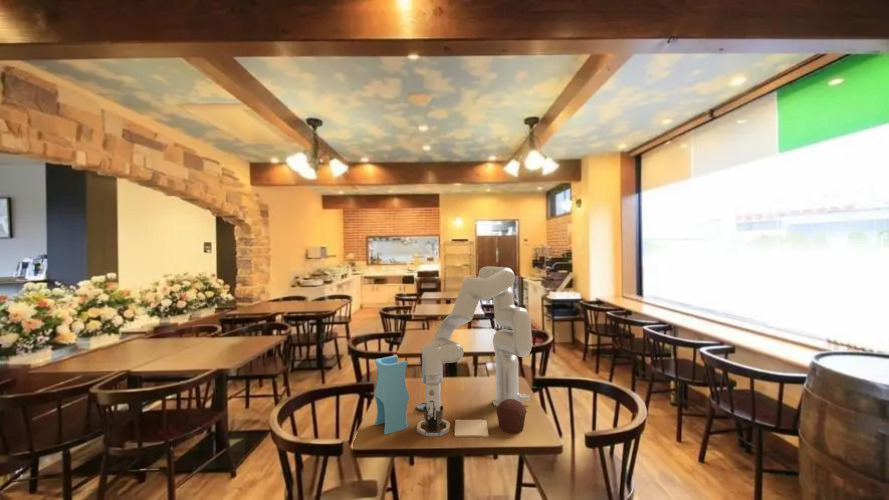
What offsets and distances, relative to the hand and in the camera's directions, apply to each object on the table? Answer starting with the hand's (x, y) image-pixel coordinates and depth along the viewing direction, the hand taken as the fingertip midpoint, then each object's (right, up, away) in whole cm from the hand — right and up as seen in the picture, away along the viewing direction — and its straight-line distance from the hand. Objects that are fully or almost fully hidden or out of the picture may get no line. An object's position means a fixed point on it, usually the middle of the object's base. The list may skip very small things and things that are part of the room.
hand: (433, 424), depth 146 cm
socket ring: (0, -2, 0) cm, 2 cm away
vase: (-16, -2, +3) cm, 16 cm away
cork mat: (+14, -1, -1) cm, 14 cm away
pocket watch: (-3, -2, +18) cm, 19 cm away
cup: (0, -2, 0) cm, 2 cm away
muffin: (+29, -1, 0) cm, 29 cm away
